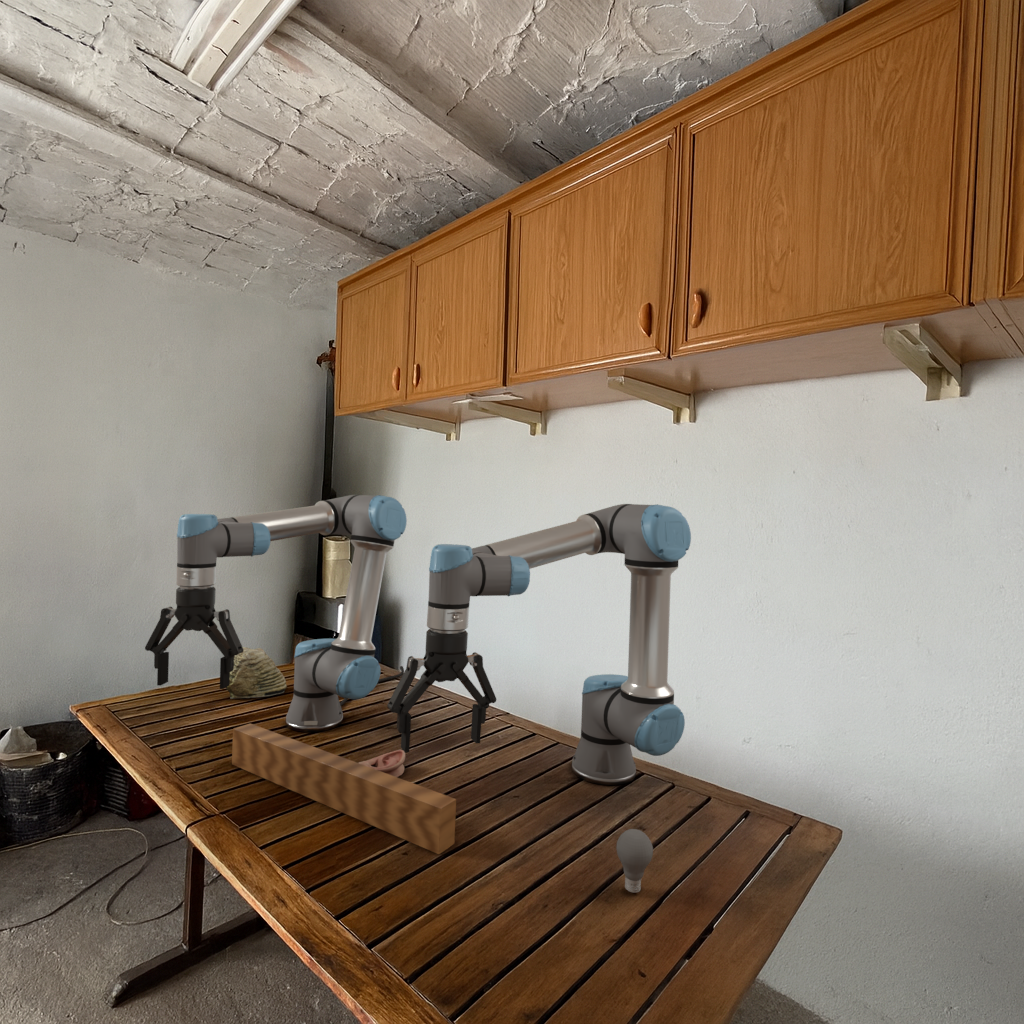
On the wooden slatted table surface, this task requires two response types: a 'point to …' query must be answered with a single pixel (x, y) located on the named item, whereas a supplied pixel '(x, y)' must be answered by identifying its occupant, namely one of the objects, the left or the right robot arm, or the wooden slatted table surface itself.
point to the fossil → (255, 675)
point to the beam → (348, 787)
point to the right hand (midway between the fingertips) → (441, 745)
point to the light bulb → (634, 857)
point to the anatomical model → (388, 763)
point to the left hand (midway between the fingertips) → (193, 685)
